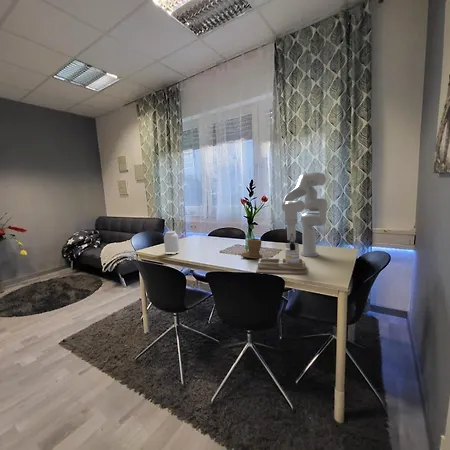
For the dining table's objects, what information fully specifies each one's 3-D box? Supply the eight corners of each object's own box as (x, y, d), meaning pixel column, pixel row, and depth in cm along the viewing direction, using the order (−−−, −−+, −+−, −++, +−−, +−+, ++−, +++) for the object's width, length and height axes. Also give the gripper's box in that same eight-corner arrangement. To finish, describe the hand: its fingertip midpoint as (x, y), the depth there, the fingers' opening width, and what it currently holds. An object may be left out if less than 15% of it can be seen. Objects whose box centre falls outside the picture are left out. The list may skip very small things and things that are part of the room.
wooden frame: (260, 261, 171) (259, 255, 171) (304, 262, 163) (303, 255, 163) (255, 273, 148) (255, 266, 148) (306, 274, 140) (306, 267, 140)
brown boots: (265, 256, 184) (264, 237, 182) (257, 260, 174) (256, 240, 172) (248, 254, 193) (247, 236, 191) (240, 258, 183) (239, 239, 181)
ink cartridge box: (285, 267, 152) (285, 244, 150) (285, 264, 157) (285, 243, 155) (299, 267, 150) (299, 244, 148) (299, 264, 155) (298, 242, 153)
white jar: (180, 254, 209) (177, 231, 206) (165, 256, 206) (163, 233, 203) (179, 251, 221) (177, 229, 218) (165, 252, 218) (163, 231, 215)
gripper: (285, 219, 159) (286, 244, 162) (284, 224, 142) (286, 252, 145) (297, 219, 157) (298, 244, 160) (298, 224, 140) (299, 251, 143)
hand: (292, 247), depth 153 cm, fingers open, 9 cm apart
